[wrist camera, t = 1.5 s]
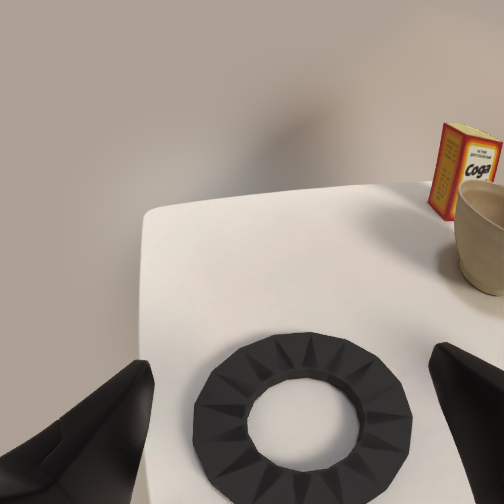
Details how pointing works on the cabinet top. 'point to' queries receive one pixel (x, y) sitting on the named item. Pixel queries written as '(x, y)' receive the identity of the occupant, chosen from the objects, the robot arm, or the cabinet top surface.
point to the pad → (293, 367)
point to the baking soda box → (461, 164)
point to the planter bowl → (481, 234)
